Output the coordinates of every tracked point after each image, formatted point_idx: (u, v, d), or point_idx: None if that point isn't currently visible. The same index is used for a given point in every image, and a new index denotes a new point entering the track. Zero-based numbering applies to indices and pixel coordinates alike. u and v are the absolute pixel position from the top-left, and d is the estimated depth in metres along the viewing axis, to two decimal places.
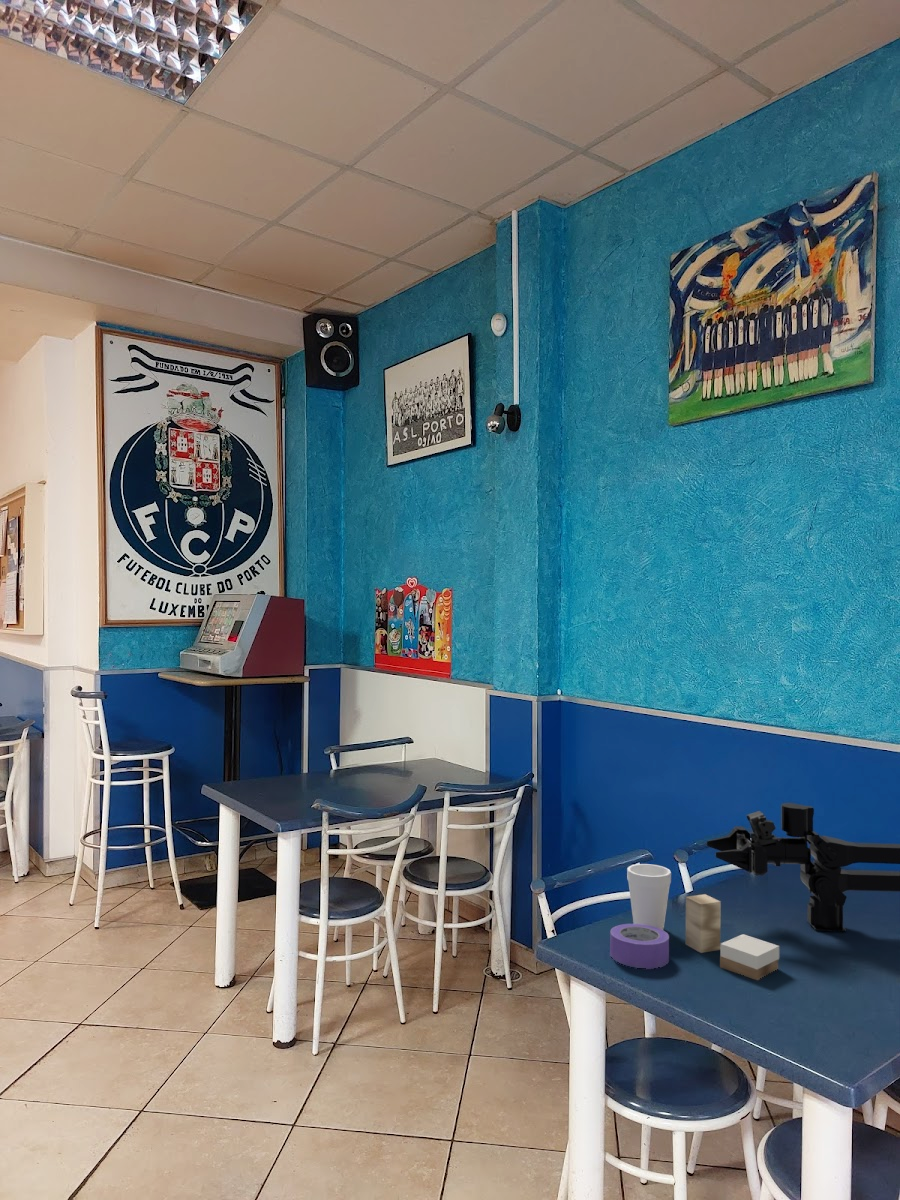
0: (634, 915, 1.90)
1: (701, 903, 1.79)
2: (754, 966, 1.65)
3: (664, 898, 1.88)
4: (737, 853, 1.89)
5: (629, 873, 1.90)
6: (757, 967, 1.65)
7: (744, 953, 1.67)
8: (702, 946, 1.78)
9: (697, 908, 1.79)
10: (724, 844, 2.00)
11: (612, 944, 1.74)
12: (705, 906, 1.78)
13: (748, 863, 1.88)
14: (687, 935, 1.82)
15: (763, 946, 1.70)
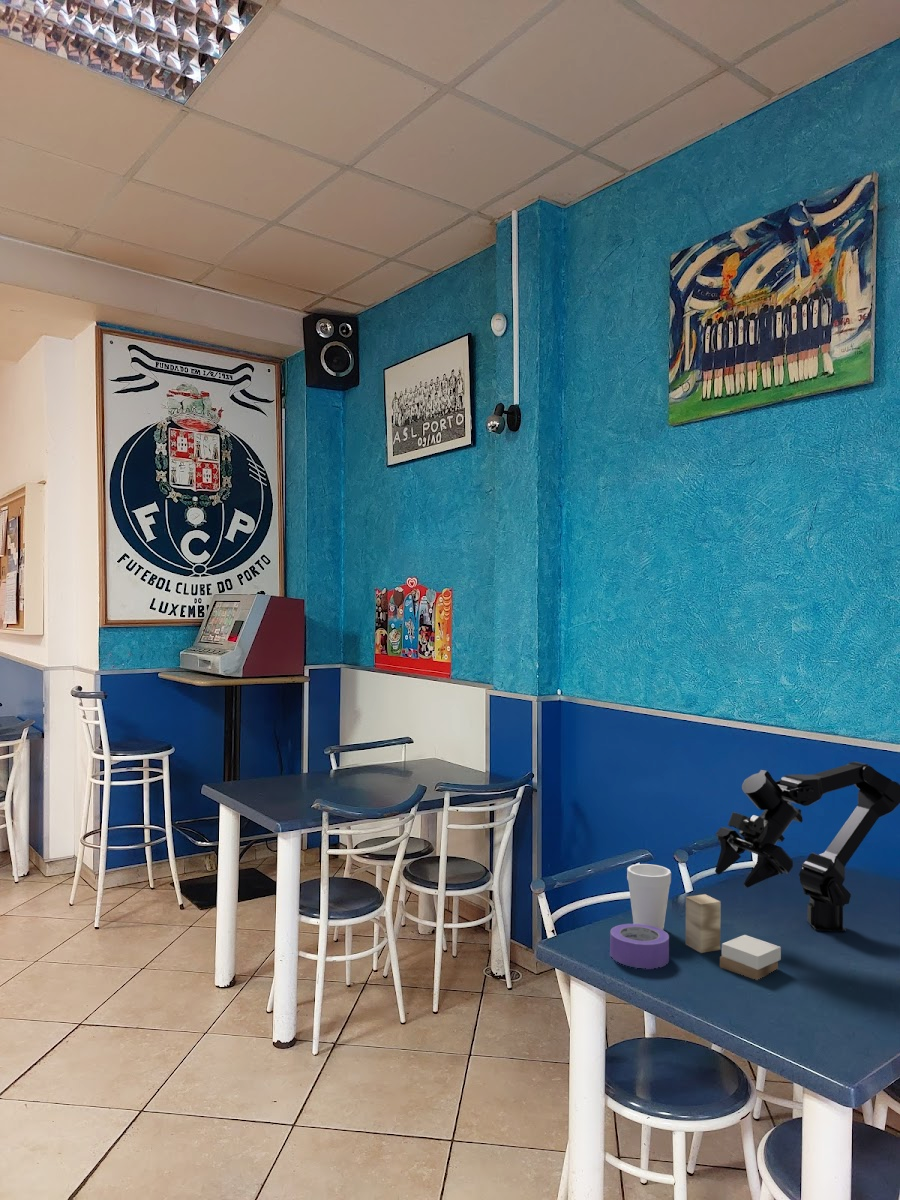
0: (634, 915, 1.90)
1: (700, 903, 1.79)
2: (755, 966, 1.65)
3: (664, 898, 1.88)
4: (759, 869, 1.79)
5: (629, 873, 1.90)
6: (758, 967, 1.65)
7: (745, 953, 1.67)
8: (702, 946, 1.78)
9: (697, 908, 1.79)
10: (727, 859, 1.90)
11: (612, 944, 1.74)
12: (704, 906, 1.78)
13: (774, 868, 1.79)
14: (687, 935, 1.82)
15: (764, 946, 1.70)
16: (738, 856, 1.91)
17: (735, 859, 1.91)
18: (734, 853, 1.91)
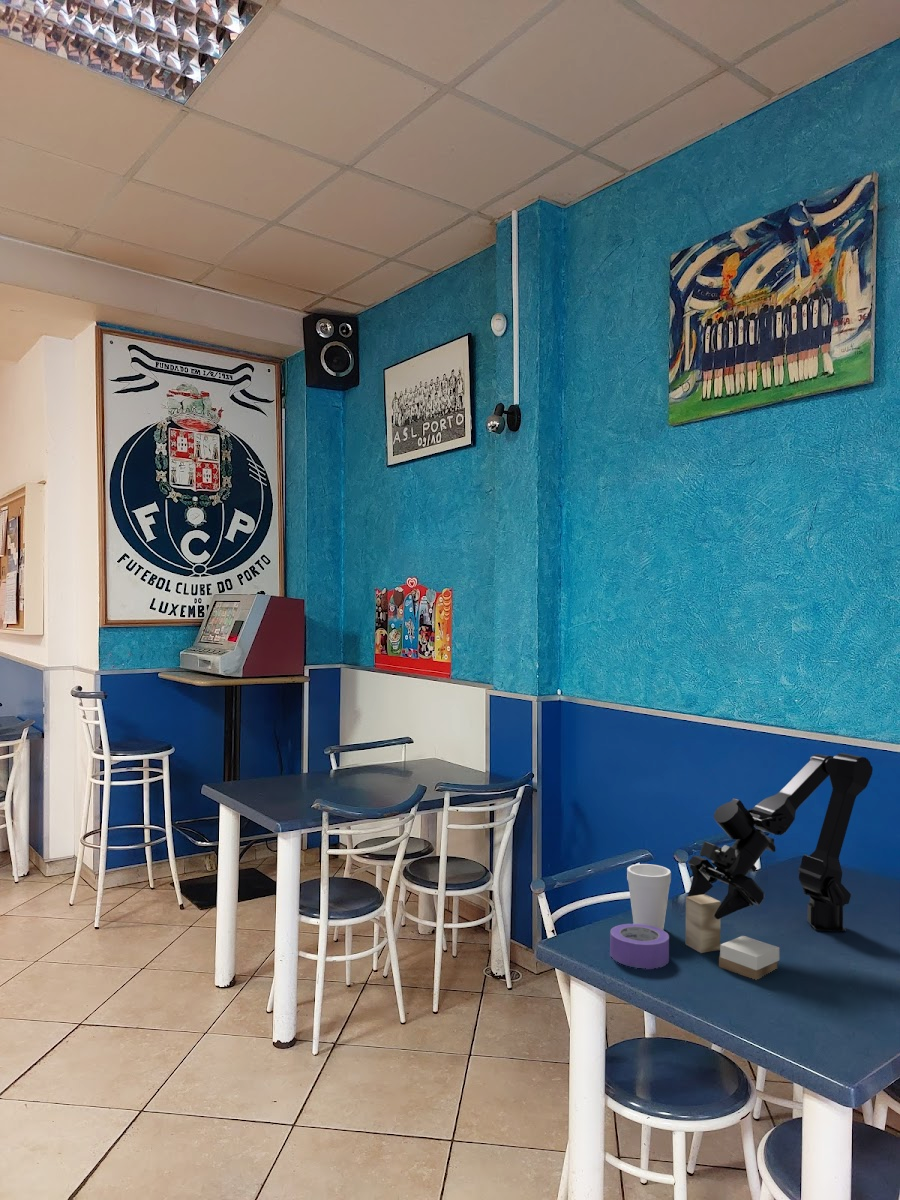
0: (634, 915, 1.90)
1: (701, 903, 1.79)
2: (754, 967, 1.65)
3: (664, 898, 1.88)
4: (730, 900, 1.77)
5: (629, 873, 1.90)
6: (757, 968, 1.65)
7: (744, 954, 1.67)
8: (702, 946, 1.78)
9: (697, 908, 1.79)
10: (699, 889, 1.87)
11: (612, 944, 1.74)
12: (705, 906, 1.78)
13: (745, 900, 1.76)
14: (687, 935, 1.82)
15: (763, 947, 1.70)
16: (710, 886, 1.88)
17: (707, 889, 1.88)
18: (706, 883, 1.88)
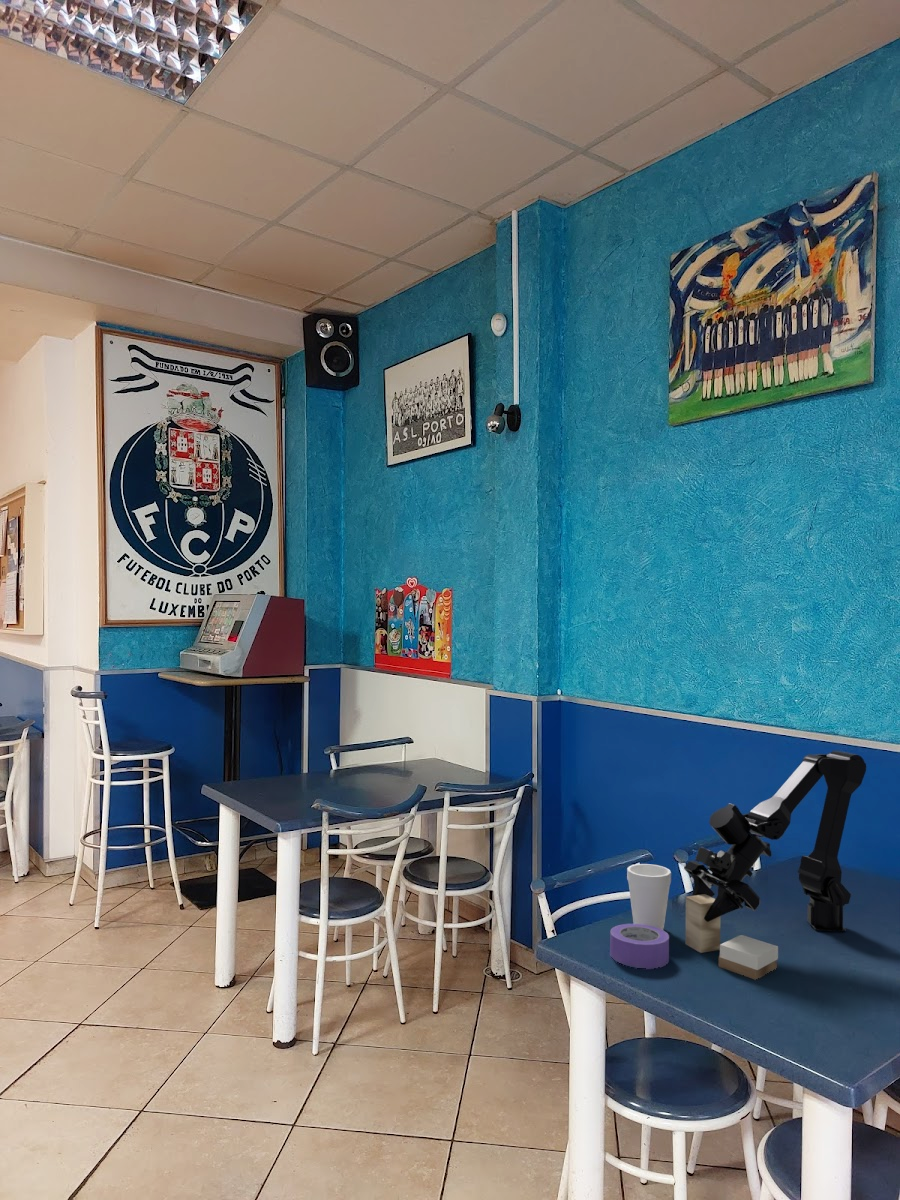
0: (634, 915, 1.90)
1: (700, 903, 1.79)
2: (754, 967, 1.65)
3: (664, 898, 1.88)
4: (720, 903, 1.78)
5: (629, 873, 1.90)
6: (757, 968, 1.65)
7: (744, 954, 1.67)
8: (702, 946, 1.78)
9: (697, 908, 1.79)
10: None
11: (612, 944, 1.74)
12: (704, 906, 1.78)
13: (735, 902, 1.78)
14: (687, 935, 1.82)
15: (762, 946, 1.70)
16: (712, 893, 1.86)
17: None
18: (708, 890, 1.86)
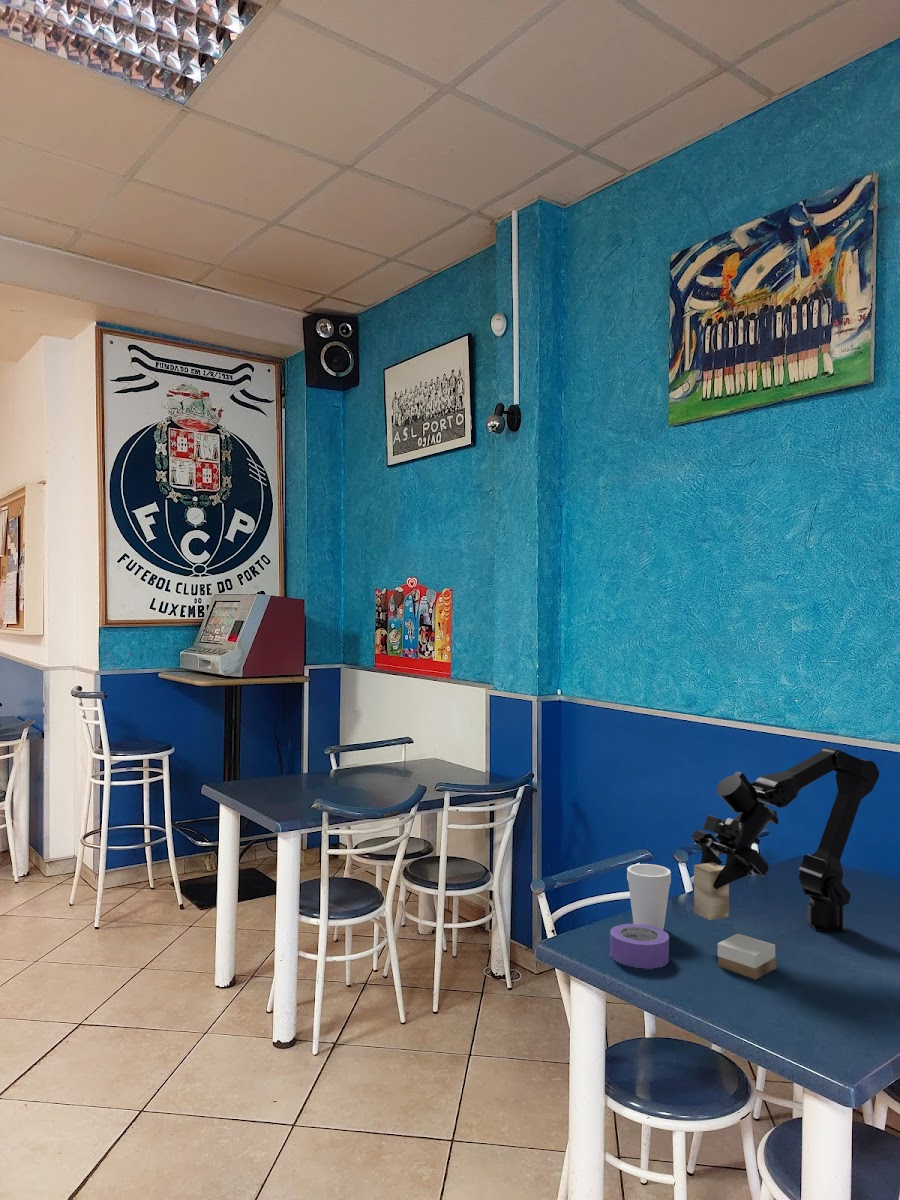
0: (634, 915, 1.90)
1: (709, 870, 1.79)
2: (752, 965, 1.66)
3: (664, 898, 1.88)
4: (728, 870, 1.78)
5: (629, 873, 1.90)
6: (755, 966, 1.66)
7: (742, 952, 1.67)
8: (711, 913, 1.78)
9: (706, 875, 1.79)
10: None
11: (612, 944, 1.74)
12: (713, 873, 1.79)
13: (743, 869, 1.78)
14: (695, 903, 1.82)
15: (759, 945, 1.71)
16: (720, 862, 1.86)
17: None
18: (715, 859, 1.86)
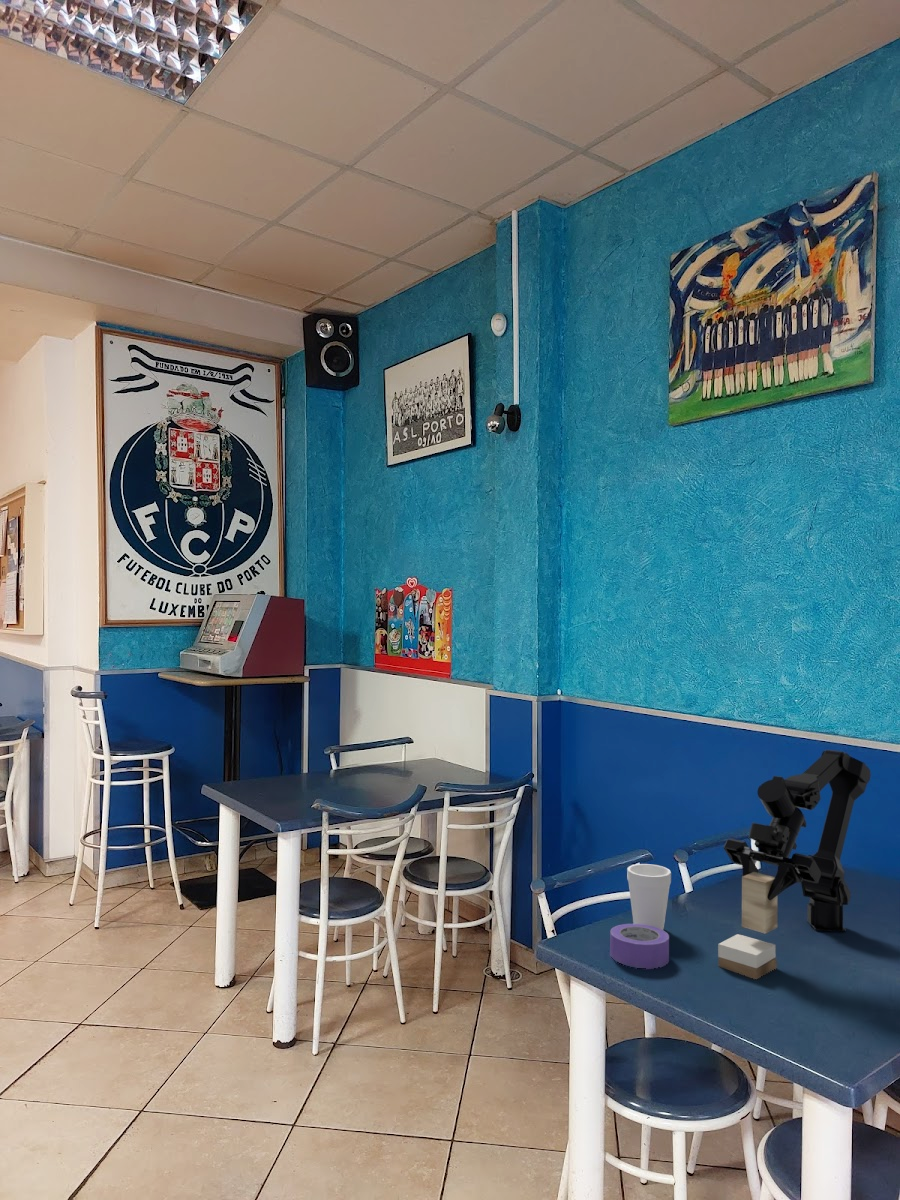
0: (634, 915, 1.90)
1: (763, 881, 1.71)
2: (753, 965, 1.66)
3: (664, 898, 1.88)
4: (782, 879, 1.71)
5: (629, 873, 1.90)
6: (756, 966, 1.66)
7: (743, 952, 1.68)
8: (766, 926, 1.70)
9: (760, 887, 1.71)
10: None
11: (612, 944, 1.74)
12: (767, 884, 1.71)
13: (794, 877, 1.72)
14: (744, 917, 1.73)
15: (760, 945, 1.71)
16: (757, 871, 1.79)
17: None
18: (754, 868, 1.78)
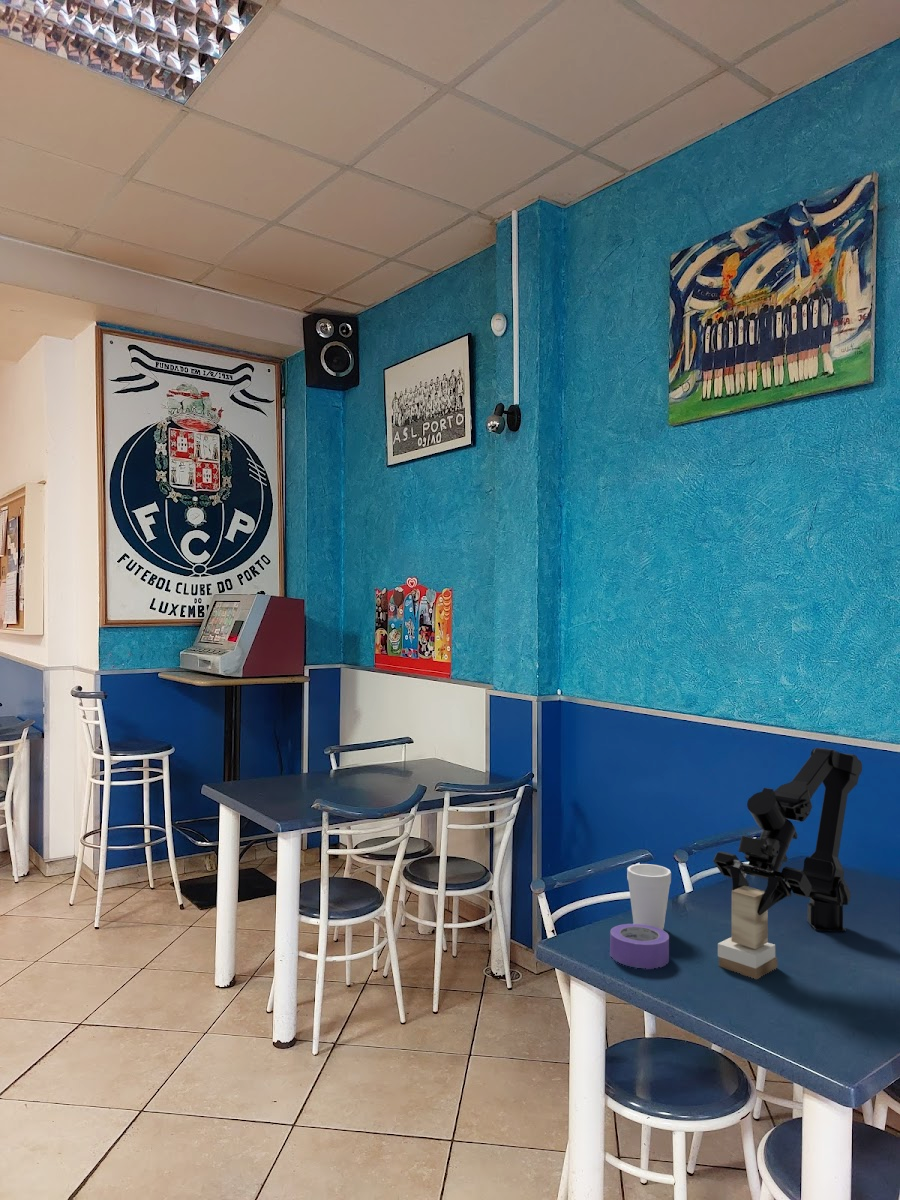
0: (634, 915, 1.90)
1: (753, 895, 1.68)
2: (752, 965, 1.66)
3: (664, 898, 1.88)
4: (772, 893, 1.69)
5: (629, 873, 1.90)
6: (755, 966, 1.66)
7: (742, 952, 1.67)
8: (756, 941, 1.68)
9: (749, 902, 1.68)
10: None
11: (612, 944, 1.74)
12: (757, 898, 1.68)
13: (785, 891, 1.70)
14: (734, 931, 1.71)
15: None
16: (747, 884, 1.76)
17: None
18: (744, 881, 1.76)
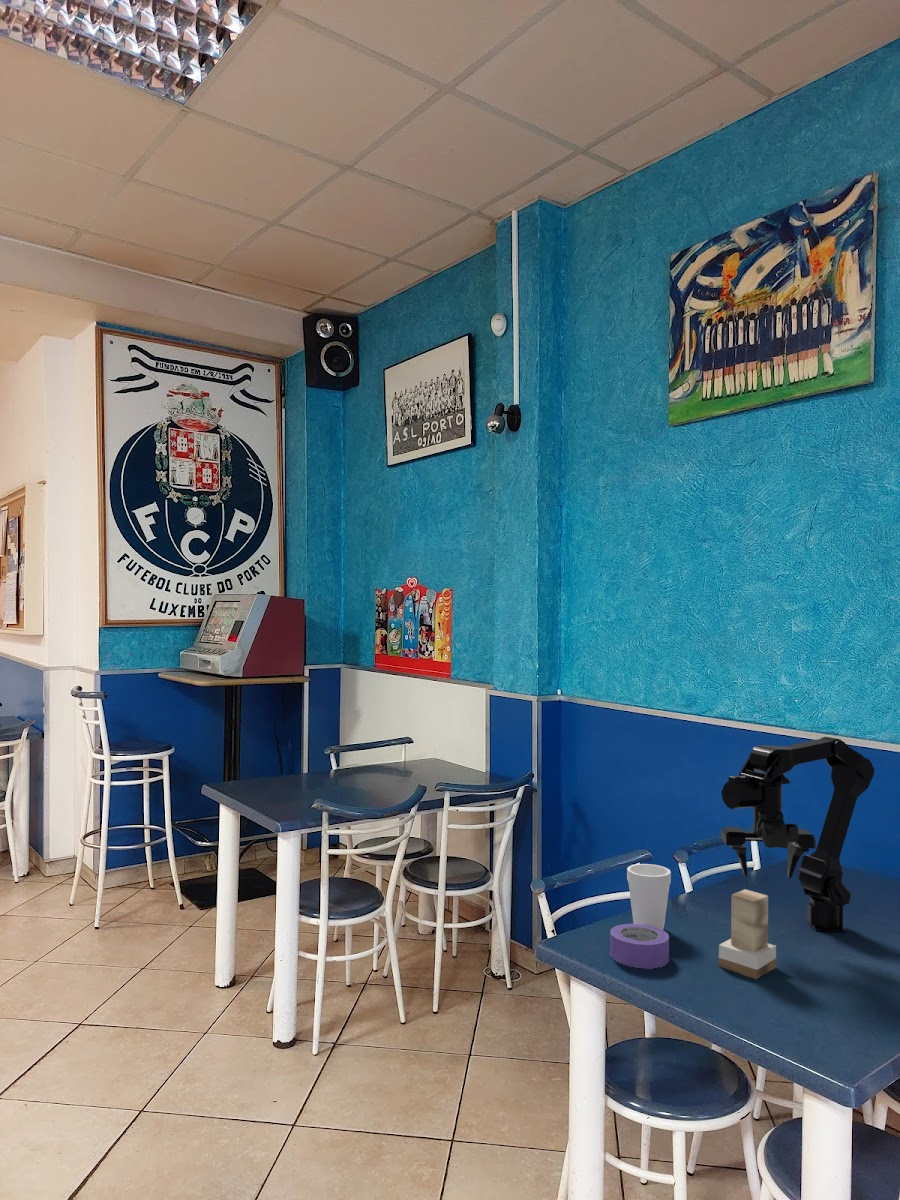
0: (634, 915, 1.90)
1: (752, 899, 1.68)
2: (754, 966, 1.66)
3: (664, 898, 1.88)
4: None
5: (629, 873, 1.90)
6: (757, 967, 1.66)
7: (744, 954, 1.67)
8: (755, 945, 1.68)
9: (749, 906, 1.68)
10: None
11: (612, 944, 1.74)
12: (757, 902, 1.68)
13: None
14: (734, 935, 1.71)
15: None
16: None
17: None
18: None
